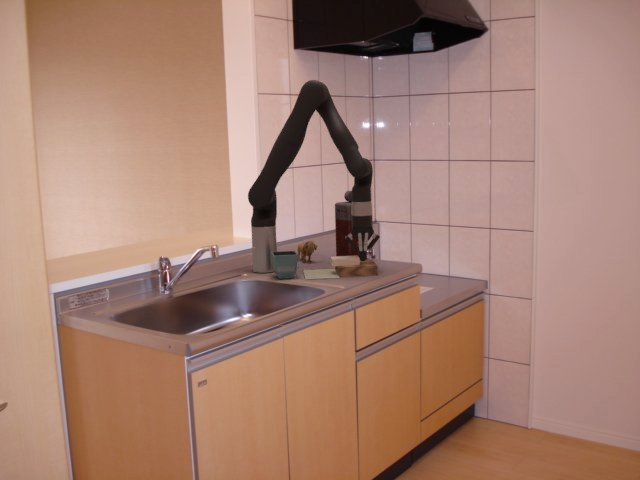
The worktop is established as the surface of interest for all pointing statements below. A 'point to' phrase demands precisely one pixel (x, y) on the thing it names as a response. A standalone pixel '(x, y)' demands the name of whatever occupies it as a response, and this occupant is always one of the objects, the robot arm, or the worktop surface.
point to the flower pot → (285, 263)
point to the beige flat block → (344, 260)
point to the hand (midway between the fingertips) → (362, 260)
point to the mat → (320, 274)
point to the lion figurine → (306, 250)
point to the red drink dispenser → (344, 227)
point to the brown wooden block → (358, 269)
